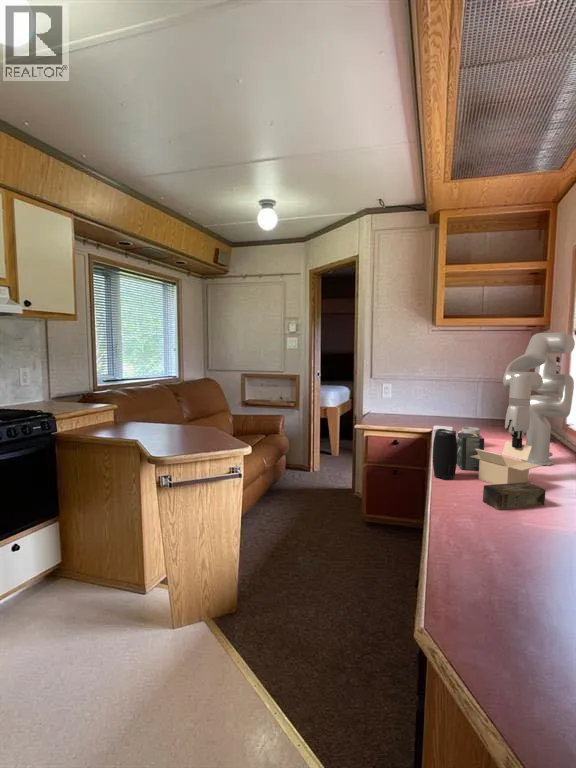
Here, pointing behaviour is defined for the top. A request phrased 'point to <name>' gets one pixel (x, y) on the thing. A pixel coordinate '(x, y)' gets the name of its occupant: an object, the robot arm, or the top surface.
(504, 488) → the beverage carton
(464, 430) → the mug
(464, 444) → the tampon box
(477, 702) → the top surface
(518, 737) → the top surface
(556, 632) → the top surface
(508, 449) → the flap
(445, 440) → the portable speaker
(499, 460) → the flap
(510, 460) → the carton
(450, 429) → the supplement box
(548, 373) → the robot arm
